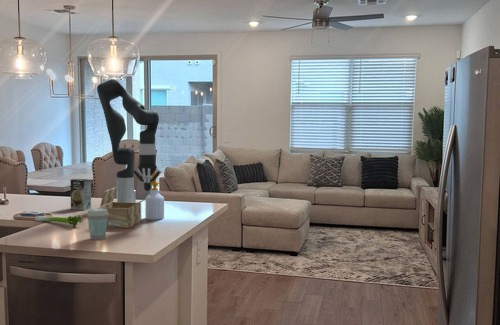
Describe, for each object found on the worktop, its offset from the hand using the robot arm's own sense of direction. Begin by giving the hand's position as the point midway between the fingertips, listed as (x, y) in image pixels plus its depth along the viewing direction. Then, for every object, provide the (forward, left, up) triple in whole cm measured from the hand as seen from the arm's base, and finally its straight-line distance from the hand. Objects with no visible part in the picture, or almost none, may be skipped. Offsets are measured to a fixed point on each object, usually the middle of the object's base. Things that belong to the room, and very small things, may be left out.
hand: (147, 190), depth 234 cm
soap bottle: (-12, -10, -16) cm, 23 cm away
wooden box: (+8, -10, -16) cm, 21 cm away
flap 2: (+4, -5, -7) cm, 9 cm away
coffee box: (0, -58, -16) cm, 61 cm away
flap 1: (+11, -16, -7) cm, 21 cm away
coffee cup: (+31, +7, -16) cm, 35 cm away
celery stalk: (+28, -31, -17) cm, 45 cm away
